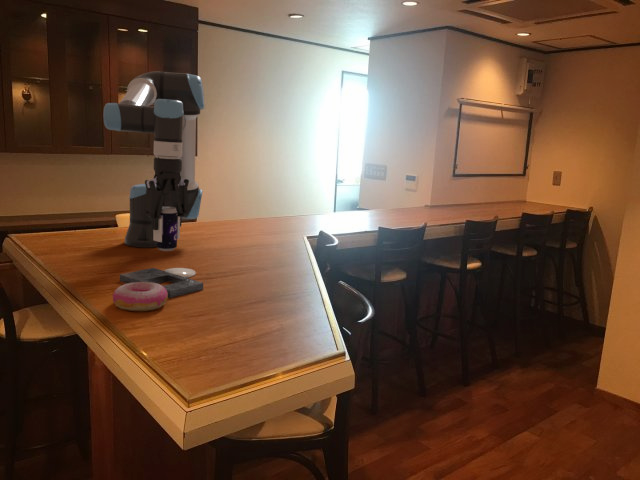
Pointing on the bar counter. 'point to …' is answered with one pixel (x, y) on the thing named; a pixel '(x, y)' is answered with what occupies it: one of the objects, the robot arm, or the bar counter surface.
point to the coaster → (182, 272)
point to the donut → (140, 296)
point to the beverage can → (168, 229)
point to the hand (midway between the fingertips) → (166, 239)
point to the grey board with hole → (158, 276)
